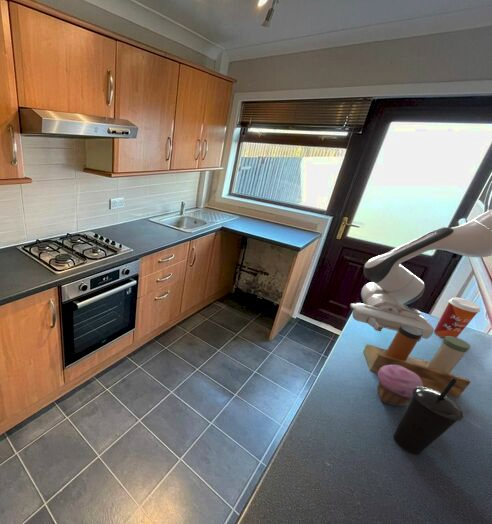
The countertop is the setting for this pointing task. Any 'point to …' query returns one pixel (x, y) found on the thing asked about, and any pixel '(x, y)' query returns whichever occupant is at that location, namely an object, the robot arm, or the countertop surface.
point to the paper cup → (456, 317)
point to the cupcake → (397, 384)
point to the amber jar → (404, 342)
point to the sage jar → (448, 354)
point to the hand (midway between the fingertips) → (397, 334)
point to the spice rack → (416, 370)
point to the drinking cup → (426, 418)
